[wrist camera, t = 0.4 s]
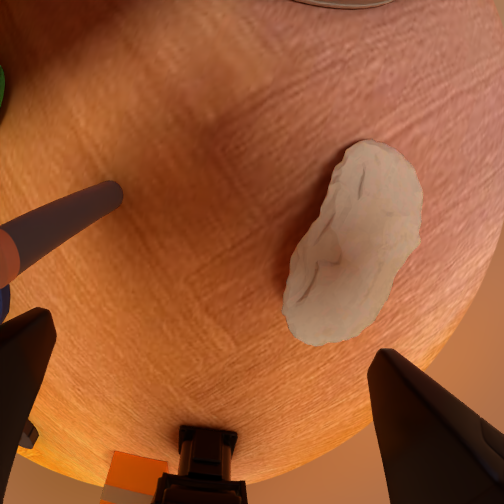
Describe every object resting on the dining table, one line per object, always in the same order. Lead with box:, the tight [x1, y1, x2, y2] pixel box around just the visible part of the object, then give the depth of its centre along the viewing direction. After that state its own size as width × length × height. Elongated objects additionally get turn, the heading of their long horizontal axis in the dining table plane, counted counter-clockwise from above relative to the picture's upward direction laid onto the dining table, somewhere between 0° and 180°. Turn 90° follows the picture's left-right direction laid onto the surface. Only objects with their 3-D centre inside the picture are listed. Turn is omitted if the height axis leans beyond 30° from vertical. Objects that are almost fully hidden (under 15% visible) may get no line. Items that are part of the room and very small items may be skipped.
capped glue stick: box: [0, 181, 123, 289], centre depth 14 cm, size 2×2×13 cm
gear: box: [19, 419, 39, 449], centre depth 30 cm, size 9×9×2 cm
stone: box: [282, 139, 423, 346], centre depth 20 cm, size 8×5×15 cm
